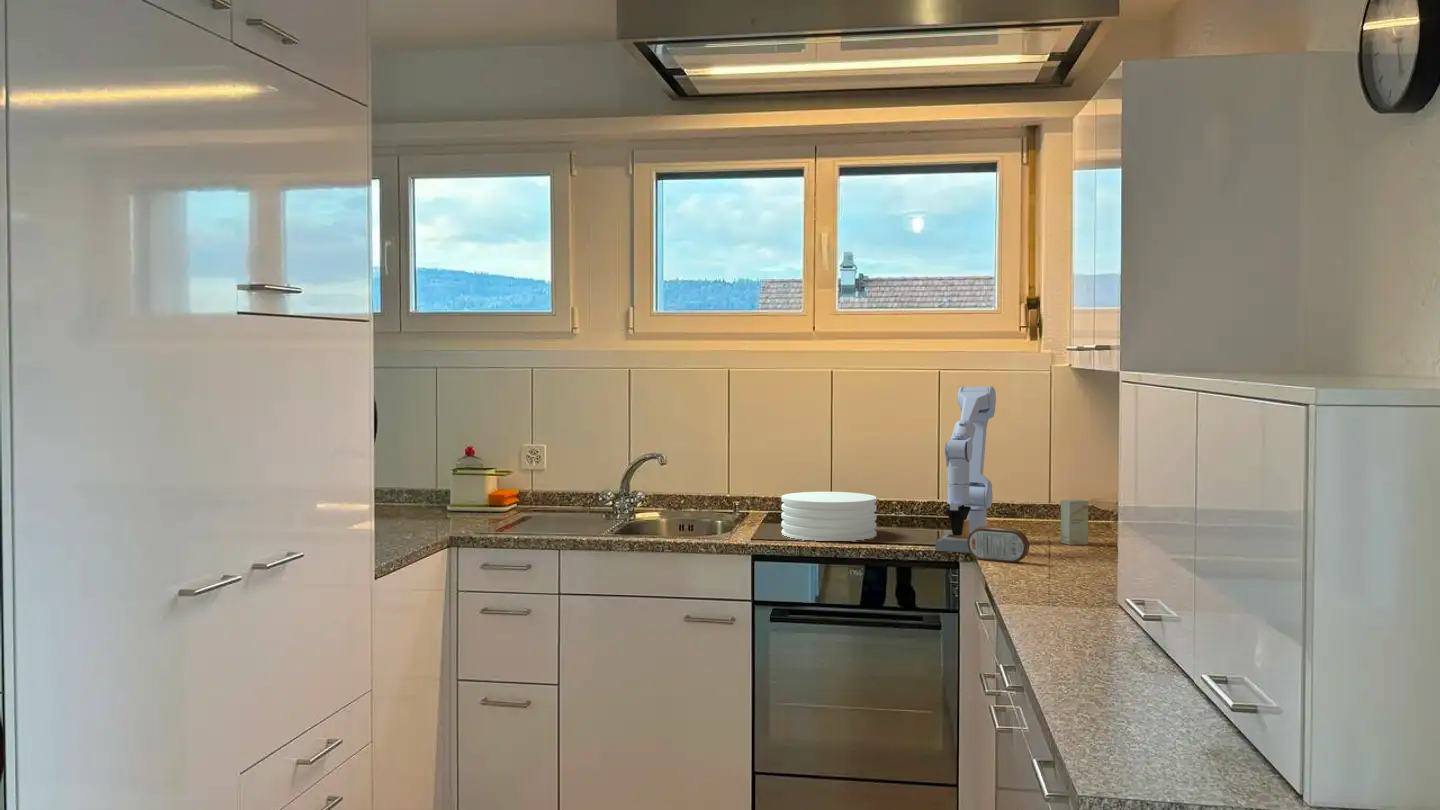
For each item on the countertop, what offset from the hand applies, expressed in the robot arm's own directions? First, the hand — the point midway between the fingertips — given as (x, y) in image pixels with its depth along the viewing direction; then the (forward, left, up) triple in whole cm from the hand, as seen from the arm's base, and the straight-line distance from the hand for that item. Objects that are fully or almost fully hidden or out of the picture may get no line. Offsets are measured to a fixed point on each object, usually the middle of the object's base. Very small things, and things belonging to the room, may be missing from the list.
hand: (958, 534), depth 260 cm
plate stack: (-11, -40, -4) cm, 41 cm away
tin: (+15, +12, -4) cm, 20 cm away
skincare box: (-21, +28, -4) cm, 36 cm away
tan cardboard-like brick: (0, +1, -2) cm, 2 cm away
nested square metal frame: (0, 0, -4) cm, 4 cm away
